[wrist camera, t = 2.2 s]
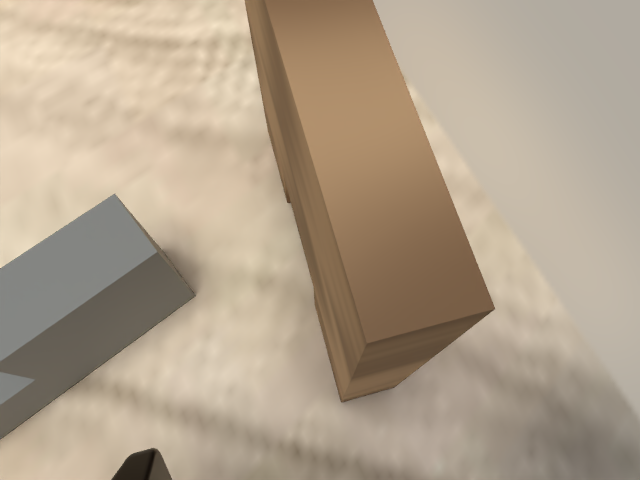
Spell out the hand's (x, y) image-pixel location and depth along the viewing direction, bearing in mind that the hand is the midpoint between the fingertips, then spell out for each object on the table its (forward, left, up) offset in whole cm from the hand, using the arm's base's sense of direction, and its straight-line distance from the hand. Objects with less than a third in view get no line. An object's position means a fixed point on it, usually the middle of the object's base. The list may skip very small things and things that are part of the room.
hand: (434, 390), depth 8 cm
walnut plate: (+3, -6, -11) cm, 13 cm away
